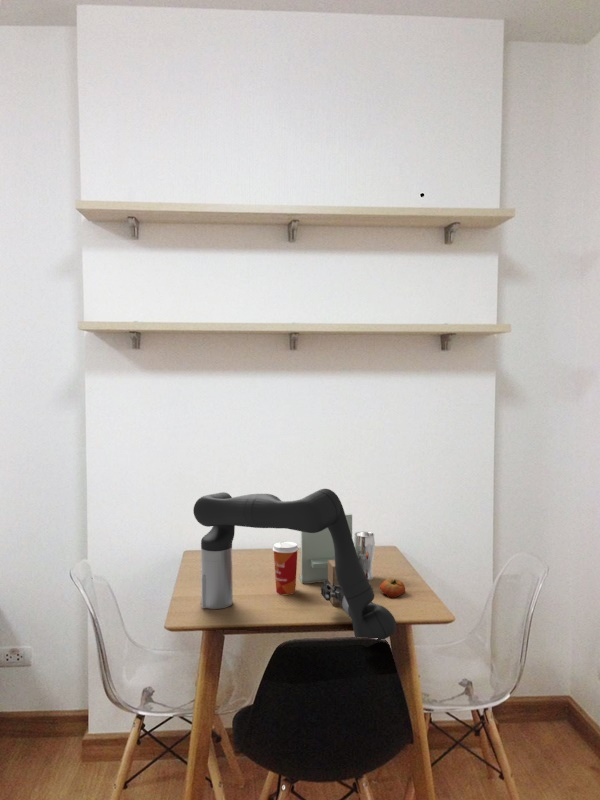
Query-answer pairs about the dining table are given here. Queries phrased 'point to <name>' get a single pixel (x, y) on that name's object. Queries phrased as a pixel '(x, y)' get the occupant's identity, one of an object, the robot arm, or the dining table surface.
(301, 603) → the dining table surface
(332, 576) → the cabinet
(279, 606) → the dining table surface
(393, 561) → the dining table surface
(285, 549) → the coffee cup
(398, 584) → the tomato
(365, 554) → the beer glass
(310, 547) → the wall board
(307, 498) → the robot arm
